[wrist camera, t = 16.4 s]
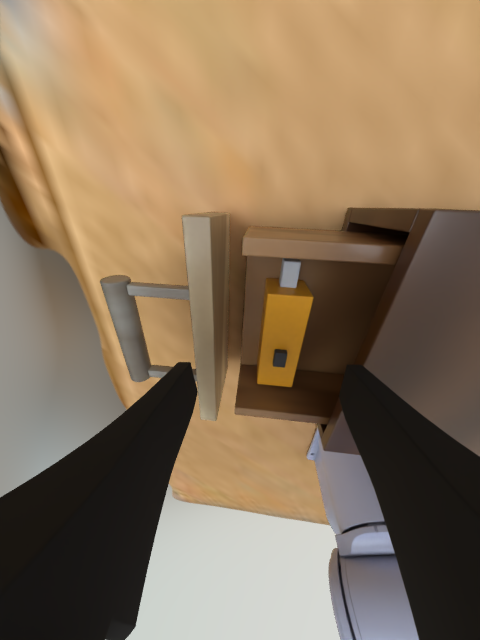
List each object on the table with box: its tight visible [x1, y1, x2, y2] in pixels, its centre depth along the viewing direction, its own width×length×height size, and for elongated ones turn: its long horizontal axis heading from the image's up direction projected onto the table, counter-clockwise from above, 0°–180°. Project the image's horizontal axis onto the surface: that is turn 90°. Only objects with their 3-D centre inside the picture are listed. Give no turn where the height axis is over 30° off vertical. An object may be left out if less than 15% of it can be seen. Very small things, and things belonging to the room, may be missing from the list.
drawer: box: [100, 212, 408, 424], centre depth 14 cm, size 18×13×6 cm
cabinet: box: [317, 208, 480, 456], centre depth 13 cm, size 15×15×8 cm
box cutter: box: [257, 258, 313, 387], centre depth 14 cm, size 9×3×3 cm, turn 178°
